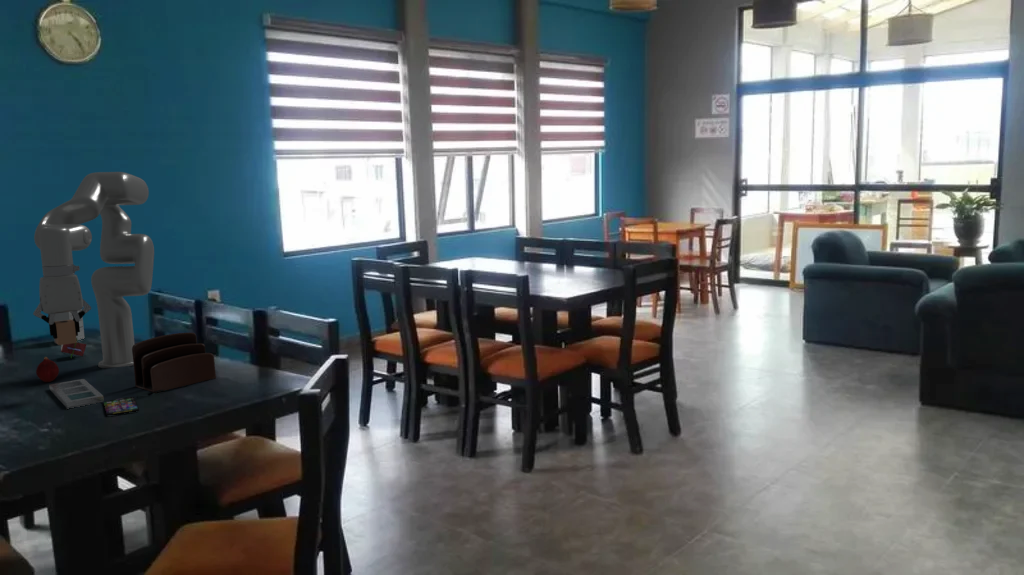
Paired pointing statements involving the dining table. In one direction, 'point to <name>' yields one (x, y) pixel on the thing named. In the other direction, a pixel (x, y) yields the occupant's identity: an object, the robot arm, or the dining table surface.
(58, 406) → the dining table surface
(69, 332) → the brown rectangular block
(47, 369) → the onion
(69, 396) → the pale grey slotted tray
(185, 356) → the letter holder
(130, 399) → the smartphone
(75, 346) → the red box
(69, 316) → the supplement box
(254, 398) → the dining table surface
